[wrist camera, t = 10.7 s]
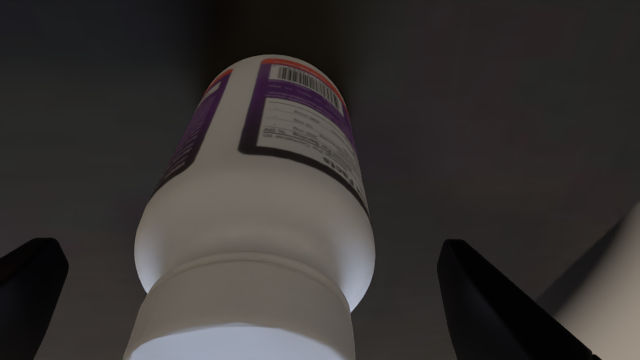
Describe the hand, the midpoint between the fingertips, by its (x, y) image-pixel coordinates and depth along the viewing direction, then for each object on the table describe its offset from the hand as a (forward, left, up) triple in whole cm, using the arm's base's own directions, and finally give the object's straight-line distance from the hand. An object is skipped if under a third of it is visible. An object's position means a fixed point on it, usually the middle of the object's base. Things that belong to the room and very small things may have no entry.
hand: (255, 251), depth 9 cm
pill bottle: (0, 0, -7) cm, 7 cm away
